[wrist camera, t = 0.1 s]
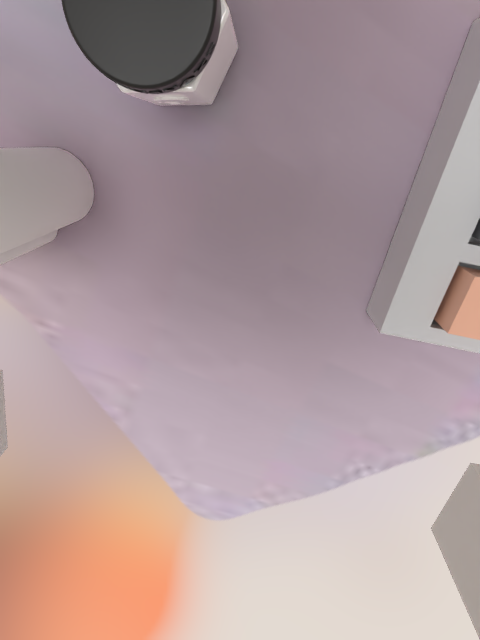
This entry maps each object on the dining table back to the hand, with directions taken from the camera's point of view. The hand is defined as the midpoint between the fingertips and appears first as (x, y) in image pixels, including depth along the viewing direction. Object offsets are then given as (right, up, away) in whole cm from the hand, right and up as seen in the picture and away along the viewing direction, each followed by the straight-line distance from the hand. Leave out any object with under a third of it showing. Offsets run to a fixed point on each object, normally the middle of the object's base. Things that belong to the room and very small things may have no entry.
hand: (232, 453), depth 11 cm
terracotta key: (+20, +6, +23) cm, 31 cm away
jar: (-4, +25, +20) cm, 32 cm away
